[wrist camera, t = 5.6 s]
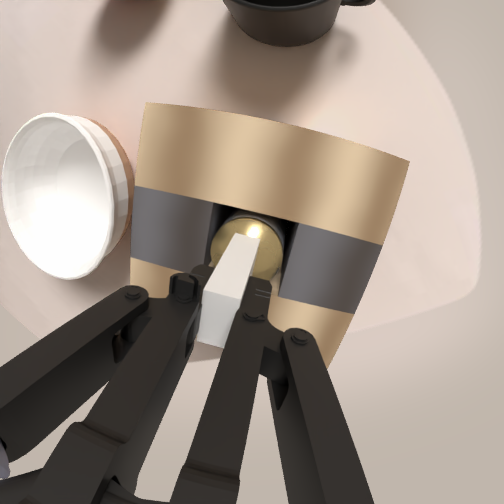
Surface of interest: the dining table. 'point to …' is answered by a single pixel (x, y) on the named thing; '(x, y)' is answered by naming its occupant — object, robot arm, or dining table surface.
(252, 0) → the mug
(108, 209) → the bowl
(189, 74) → the dining table surface
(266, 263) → the peg
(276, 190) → the socket block
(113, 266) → the dining table surface
